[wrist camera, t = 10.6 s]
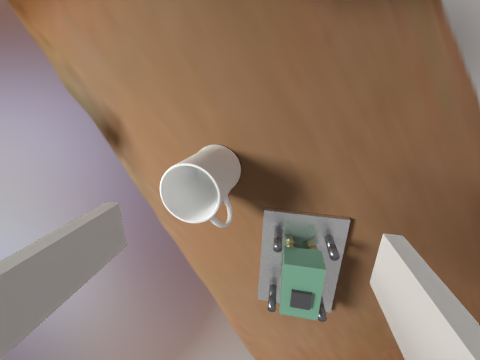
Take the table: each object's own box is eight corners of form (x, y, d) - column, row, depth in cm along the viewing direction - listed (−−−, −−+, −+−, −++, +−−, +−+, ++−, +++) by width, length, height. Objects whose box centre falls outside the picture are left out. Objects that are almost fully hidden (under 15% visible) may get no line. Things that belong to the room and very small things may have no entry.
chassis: (264, 207, 39) (261, 224, 34) (348, 217, 37) (360, 237, 31) (258, 295, 46) (254, 321, 40) (329, 308, 43) (336, 338, 38)
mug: (256, 198, 39) (244, 236, 28) (214, 212, 41) (188, 252, 30) (228, 136, 36) (202, 150, 25) (185, 155, 39) (145, 176, 28)
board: (284, 246, 37) (284, 266, 33) (321, 250, 36) (326, 272, 32) (280, 292, 41) (279, 316, 36) (314, 297, 40) (317, 324, 35)
